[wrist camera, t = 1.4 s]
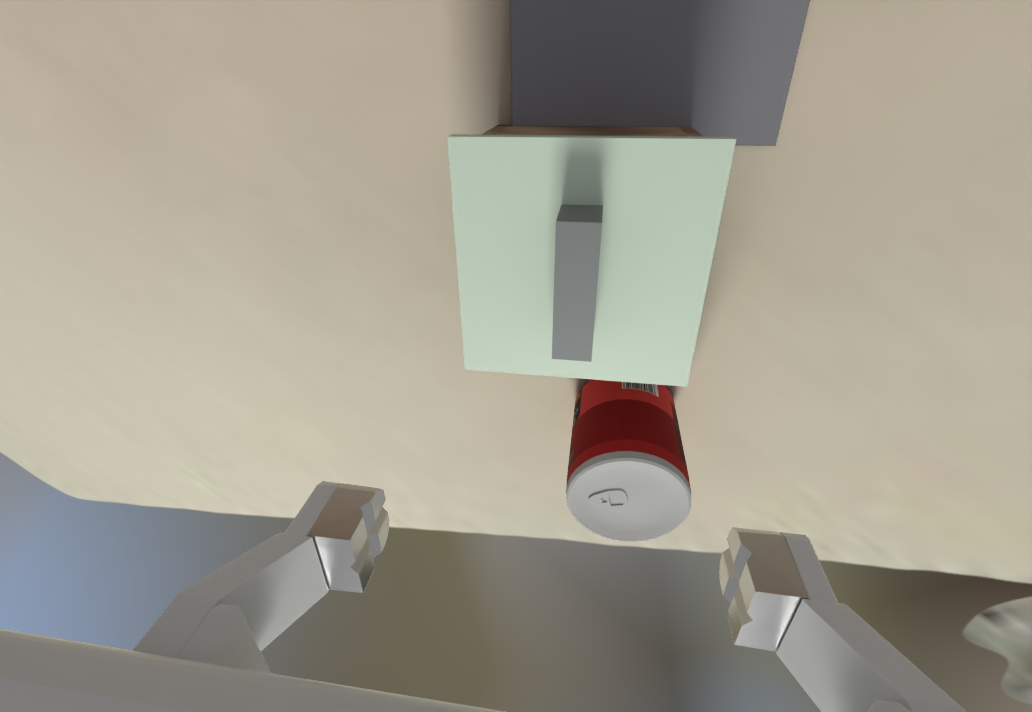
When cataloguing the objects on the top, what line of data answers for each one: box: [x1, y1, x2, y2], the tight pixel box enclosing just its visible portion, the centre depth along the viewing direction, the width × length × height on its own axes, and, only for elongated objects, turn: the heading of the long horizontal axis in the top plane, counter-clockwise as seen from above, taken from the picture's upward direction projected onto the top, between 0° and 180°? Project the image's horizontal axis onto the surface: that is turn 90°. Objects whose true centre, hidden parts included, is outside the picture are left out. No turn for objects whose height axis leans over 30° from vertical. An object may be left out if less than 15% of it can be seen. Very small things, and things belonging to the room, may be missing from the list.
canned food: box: [566, 379, 691, 542], centre depth 37 cm, size 8×8×11 cm
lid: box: [447, 134, 736, 387], centre depth 25 cm, size 13×13×5 cm
